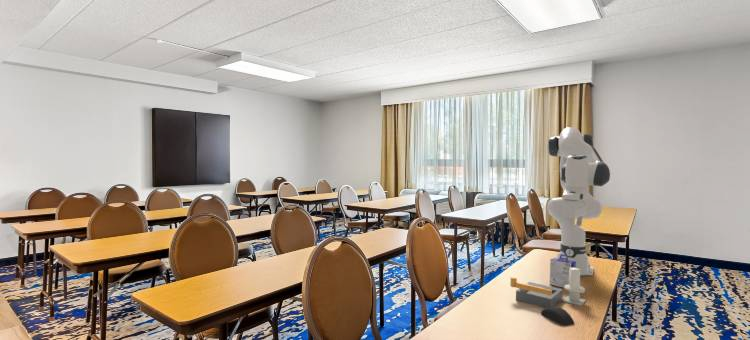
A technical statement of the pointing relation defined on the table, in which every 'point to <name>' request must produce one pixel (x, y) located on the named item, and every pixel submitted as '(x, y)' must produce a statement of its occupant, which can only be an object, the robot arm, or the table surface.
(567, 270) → the ink cartridge box
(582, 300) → the pad
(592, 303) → the table surface
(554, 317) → the computer mouse
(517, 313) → the table surface
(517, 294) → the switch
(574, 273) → the plug
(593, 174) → the robot arm
